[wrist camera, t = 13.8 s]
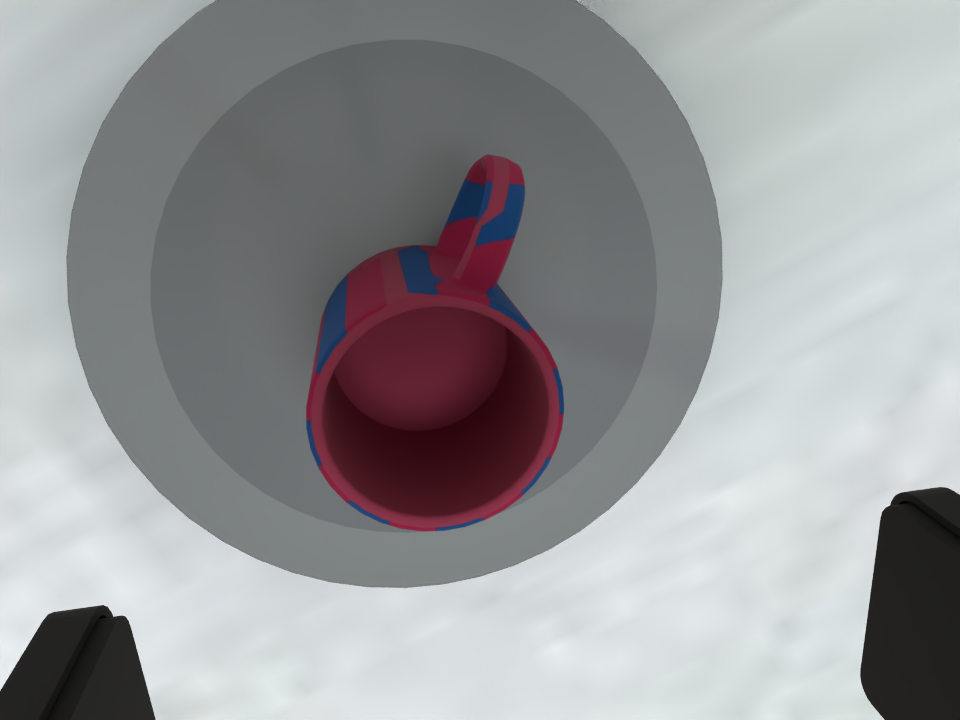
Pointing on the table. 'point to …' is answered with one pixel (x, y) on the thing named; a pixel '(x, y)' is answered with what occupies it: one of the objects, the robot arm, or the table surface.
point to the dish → (376, 228)
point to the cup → (436, 373)
